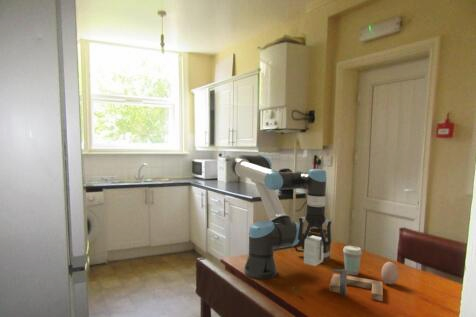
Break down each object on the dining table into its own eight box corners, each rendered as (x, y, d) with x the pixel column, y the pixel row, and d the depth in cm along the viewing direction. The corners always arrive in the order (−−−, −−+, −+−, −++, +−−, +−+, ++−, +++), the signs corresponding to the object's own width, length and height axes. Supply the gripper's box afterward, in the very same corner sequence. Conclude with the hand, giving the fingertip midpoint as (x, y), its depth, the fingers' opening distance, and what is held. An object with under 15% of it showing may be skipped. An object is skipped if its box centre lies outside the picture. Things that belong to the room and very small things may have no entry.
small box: (311, 258, 140) (312, 235, 140) (323, 261, 136) (324, 237, 136) (303, 263, 134) (304, 238, 133) (315, 266, 130) (316, 241, 130)
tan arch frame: (329, 290, 129) (329, 284, 129) (333, 278, 142) (333, 273, 142) (382, 301, 121) (382, 295, 121) (382, 287, 134) (382, 281, 134)
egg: (378, 283, 137) (379, 261, 137) (384, 279, 142) (385, 258, 142) (394, 288, 133) (395, 266, 132) (400, 284, 137) (401, 262, 137)
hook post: (332, 294, 126) (332, 269, 126) (332, 291, 128) (333, 267, 128) (345, 297, 124) (346, 271, 123) (346, 294, 126) (347, 269, 126)
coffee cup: (362, 277, 144) (363, 251, 144) (343, 275, 146) (344, 249, 146) (359, 270, 153) (360, 246, 152) (341, 268, 154) (342, 244, 154)
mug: (330, 256, 173) (331, 229, 173) (329, 264, 161) (330, 235, 160) (295, 251, 180) (295, 225, 180) (291, 259, 167) (292, 231, 167)
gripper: (291, 204, 135) (289, 257, 136) (338, 209, 127) (336, 265, 128) (295, 201, 142) (293, 251, 142) (340, 206, 134) (338, 259, 135)
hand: (313, 258), depth 135 cm, fingers closed on small box, 6 cm apart
